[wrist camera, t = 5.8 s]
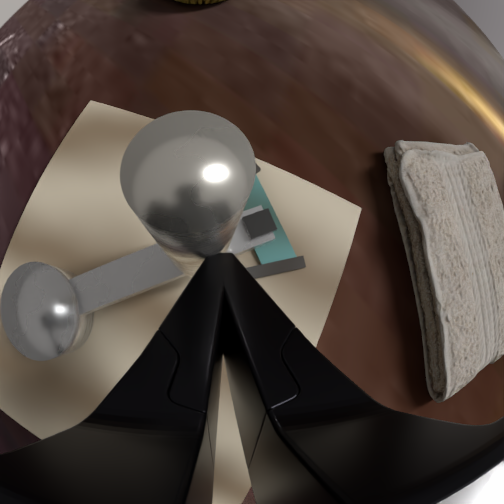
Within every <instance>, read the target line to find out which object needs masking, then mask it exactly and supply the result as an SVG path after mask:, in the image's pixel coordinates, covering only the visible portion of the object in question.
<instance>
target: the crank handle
mask: <svg viewBox="0 0 504 504" xmlns="http://www.w3.org/2000/svg"><path fill="white" fill-rule="evenodd" d="M255 176H256V162H255V157H254V152H253V150H252V147H251V145H250V143H249V141H248V140H247V138H246V137H245V135H244V134H243V133H242V132H241V131H240V130H239V129H238V128H237V127H236V126H235V125H234V124H232V123H231V122H229V121H228V120H226V119H224V118H222V117H220V116H218V115H215V114H212V113H209V112H203V111H194V110H190V111H179V112H174V113H170V114H167V115H164V116H162V117H159V118H157V119H155V120H154V121H152V122H150V123H149V124H147V125H146V126H145V127H144V128H142V129H141V130H140V131H139V132H138V133H137V134H136V135H135V136H134V138H133V139H132V140H131V142H130V143H129V145H128V147H127V149H126V150H125V153H124V155H123V158H122V162H121V167H120V183H121V188H122V192H123V195H124V197H125V199H126V201H127V203H128V205H129V206H130V208H131V209H132V210H133V212H134V213H135V214H136V216H137V217H138V218H139V220H140V221H141V223H142V224H143V225H144V227H145V228H146V229H147V231H148V232H149V233H150V235H151V236H152V237H153V238H154V240H155V241H156V242H157V244H154V245H152V246H149V247H147V248H144V249H142V250H139V251H137V252H134V253H132V254H129V255H127V256H124V257H122V258H119V259H117V260H114V261H112V262H109V263H107V264H105V265H102V266H100V267H97V268H95V269H93V270H90V271H88V272H85V273H83V274H81V275H78V276H77V275H75V274H74V273H72V272H70V271H68V270H65V269H62V268H58V267H55V266H52V265H48V264H45V263H42V262H28V263H25V264H23V265H21V266H19V267H18V268H17V269H15V270H14V271H13V272H12V274H11V275H10V276H9V278H8V279H7V281H6V283H5V286H4V288H3V292H2V296H1V305H0V309H1V319H2V323H3V327H4V330H5V332H6V335H7V337H8V338H9V340H10V342H11V343H12V345H13V346H14V347H15V348H16V349H17V350H18V351H19V352H20V353H21V354H22V355H24V356H26V357H27V358H30V359H32V360H36V361H46V360H50V359H53V358H57V357H60V356H63V355H66V354H69V353H72V352H74V351H76V350H78V349H79V348H80V347H81V346H83V345H84V343H85V342H86V341H87V339H88V337H89V335H90V333H91V331H92V327H93V322H94V312H95V311H97V310H100V309H102V308H105V307H107V306H110V305H113V304H115V303H118V302H120V301H123V300H125V299H128V298H131V297H133V296H136V295H138V294H141V293H143V292H146V291H149V290H151V289H154V288H156V287H159V286H161V285H164V284H167V283H169V282H172V281H174V280H177V279H179V278H182V277H185V276H188V277H190V278H192V277H193V275H194V274H195V272H196V271H197V270H198V268H199V267H200V265H201V264H202V262H203V261H204V259H205V258H206V257H210V256H212V255H215V254H217V253H227V252H231V253H233V254H234V255H235V256H239V255H241V254H244V253H246V252H249V251H251V250H254V249H257V248H259V247H262V246H264V245H267V244H270V243H271V242H272V241H273V240H274V239H275V236H274V234H273V232H274V231H276V230H277V227H276V224H275V222H274V220H273V217H272V215H271V213H270V211H269V208H267V209H264V210H263V208H262V206H261V205H260V206H257V207H254V208H251V209H248V210H246V211H243V210H244V208H245V205H246V203H247V200H248V198H249V196H250V193H251V190H252V188H253V185H254V181H255Z"/></svg>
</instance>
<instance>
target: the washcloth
mask: <svg viewBox="0 0 504 504" xmlns="http://www.w3.org/2000/svg"><path fill="white" fill-rule="evenodd" d="M384 157H385V163H386V164H387V167H388V168H387V170H388V173H387V179H388V184H389V186H390V187H391V195H392V197H393V204H394V209H395V213H396V216H397V219H398V224H399V227H400V231H401V235H402V239H403V243H404V246H405V250H406V255H407V260H408V264H409V268H410V273H411V278H412V282H413V288H414V293H415V298H416V304H417V309H418V315H419V321H420V326H421V331H422V341H423V348H424V361H425V373H426V382H427V388H428V391H429V394H430V396H431V397H432V398H433V399H434V400H435V401H436V402H437V403H439V402H442V401H444V400H445V399H448V398H450V397H451V396H452V395H454V394H455V393H457V392H458V391H459V390H460V389H461V388H463V387H464V386H466V384H467V383H469V382H470V381H471V380H472V379H473V378H474V377H475V376H476V374H477V373H478V372H479V371H480V370H482V369H483V368H484V367H485V366H486V365H487V364H488V363H490V364H492V363H494V362H495V361H496V360H497V359H499V358H501V356H502V355H504V210H503V204H502V201H501V198H500V195H499V192H498V190H497V189H498V188H497V185H496V181H495V179H494V174H493V172H492V169H491V168H490V164H489V161H488V159H487V157H486V156H485V154H484V153H483V151H479V150H478V149H477V148H476V147H475V146H474V145H473V144H472V143H468V142H467V144H464V145H452V144H441V143H431V142H412V141H409V142H408V141H401V140H400V141H397V142H396V143H395V147H388V148H386V149H385V150H384Z"/></svg>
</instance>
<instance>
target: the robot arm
mask: <svg viewBox="0 0 504 504" xmlns="http://www.w3.org/2000/svg"><path fill="white" fill-rule="evenodd" d="M223 356H224V361H225V366H226V372H227V377H228V382H229V387H230V392H231V397H232V401H233V406H234V411H235V416H236V420H237V425H238V429H239V434H240V438H241V443H242V447H243V451H244V456H245V460H246V464H247V468H248V473H249V477H250V481H251V485H252V489H253V493H254V497H255V501H256V504H504V416H503V417H502V418H500V419H499V420H497V421H496V422H493V423H491V424H486V425H465V424H459V423H453V422H447V421H442V420H436V419H431V418H426V417H421V416H417V415H412V414H408V413H403V412H399V411H395V410H392V409H390V408H387V407H385V406H384V405H382V404H380V403H378V402H377V401H375V400H374V399H373V398H371V397H370V396H369V395H368V394H366V393H365V392H364V391H363V390H362V389H361V388H360V387H358V386H357V385H356V384H355V383H354V382H353V381H351V380H350V379H349V378H348V377H347V376H346V375H345V374H343V373H342V372H341V371H340V370H339V369H338V368H337V367H335V366H334V365H333V364H332V363H331V362H330V361H329V360H328V359H327V358H326V357H325V356H324V355H323V354H321V353H320V352H319V351H318V350H317V349H316V348H315V346H314V345H313V344H312V343H311V342H310V341H309V340H308V339H307V338H306V337H305V336H304V335H303V333H302V332H301V331H300V330H299V329H298V328H297V327H296V326H295V324H294V323H293V322H292V321H291V320H290V319H289V318H288V316H287V315H286V314H285V313H284V312H283V311H282V310H281V308H280V307H279V306H278V305H277V304H276V303H275V301H274V300H273V299H272V298H271V297H270V296H269V295H268V293H267V292H266V291H265V290H264V289H263V288H262V286H261V285H260V284H259V283H258V282H257V281H256V279H255V278H254V277H253V276H252V275H251V274H250V272H249V271H248V270H247V269H246V268H245V267H244V265H243V264H242V263H241V262H240V261H239V260H238V258H237V257H236V256H235V255H234V254H233V253H231V252H227V253H217V254H215V255H212V256H210V257H206V258H205V259H204V261H203V262H202V264H201V265H200V267H199V268H198V270H197V271H196V272H195V274H194V275H193V277H192V278H191V280H190V281H189V283H188V284H187V286H186V287H185V289H184V290H183V292H182V293H181V295H180V296H179V298H178V299H177V301H176V302H175V304H174V305H173V307H172V308H171V310H170V311H169V313H168V314H167V316H166V317H165V319H164V320H163V322H162V323H161V325H160V326H159V328H158V330H157V331H156V332H155V334H154V335H153V337H152V338H151V340H150V342H149V343H148V344H147V346H146V347H145V349H144V350H143V352H142V353H141V354H140V356H139V357H138V358H137V360H136V361H135V362H134V363H133V365H132V366H131V367H130V368H129V370H128V371H127V372H126V373H125V374H124V376H123V377H122V378H121V379H120V380H119V381H118V383H117V384H116V385H115V386H114V387H113V388H112V390H111V391H110V392H109V393H108V394H107V396H106V397H105V398H104V399H103V400H102V402H101V403H100V404H99V405H98V406H97V407H96V409H95V410H94V411H93V412H92V413H91V414H90V415H89V416H88V417H87V418H85V419H84V420H83V421H81V422H80V423H78V424H77V425H75V426H73V427H71V428H69V429H66V430H64V431H62V432H59V433H57V434H55V435H52V436H50V437H47V438H45V439H42V440H40V441H37V442H35V443H32V444H29V445H27V446H24V447H22V448H19V449H16V450H13V451H11V452H7V453H3V454H0V504H212V499H213V483H214V467H215V452H216V438H217V424H218V411H219V398H220V386H221V373H222V362H223Z"/></svg>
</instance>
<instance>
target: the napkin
mask: <svg viewBox="0 0 504 504" xmlns="http://www.w3.org/2000/svg"><path fill="white" fill-rule="evenodd" d="M152 121H154V119H151V118H148V117H145V116H142V115H138V114H135V113H132V112H129V111H126V110H122V109H119V108H116V107H112V106H109V105H105V104H102V103H98V102H95V101H90V102H89V104H88V105H87V106H86V108H85V109H84V110H83V112H82V113H81V115H80V116H79V117H78V119H77V120H76V122H75V123H74V125H73V126H72V127H71V129H70V130H69V132H68V133H67V135H66V136H65V138H64V140H63V141H62V143H61V144H60V146H59V147H58V149H57V151H56V152H55V154H54V156H53V157H52V159H51V161H50V162H49V164H48V166H47V168H46V169H45V171H44V173H43V175H42V177H41V178H40V180H39V182H38V184H37V186H36V188H35V190H34V192H33V194H32V195H31V197H30V199H29V202H28V204H27V206H26V208H25V210H24V212H23V214H22V216H21V218H20V221H19V223H18V225H17V228H16V230H15V232H14V235H13V237H12V239H11V242H10V244H9V247H8V250H7V252H6V255H5V257H4V260H3V263H2V266H1V269H0V305H1V296H2V292H3V288H4V286H5V283H6V281H7V279H8V278H9V276H10V275H11V274H12V272H13V271H14V270H15V269H17V268H18V267H19V266H21V265H23V264H25V263H28V262H42V263H45V264H48V265H52V266H55V267H58V268H62V269H65V270H68V271H70V272H72V273H74V274H75V275H77V276H78V275H81V274H83V273H85V272H88V271H90V270H93V269H95V268H97V267H100V266H102V265H105V264H107V263H109V262H112V261H114V260H117V259H119V258H122V257H124V256H127V255H129V254H132V253H134V252H137V251H139V250H142V249H144V248H147V247H149V246H152V245H154V244H157V242H156V241H155V240H154V238H153V237H152V236H151V235H150V233H149V232H148V231H147V229H146V228H145V227H144V225H143V224H142V223H141V221H140V220H139V218H138V217H137V216H136V214H135V213H134V212H133V210H132V209H131V208H130V206H129V205H128V203H127V201H126V199H125V197H124V195H123V192H122V188H121V183H120V167H121V162H122V158H123V155H124V153H125V150H126V149H127V147H128V145H129V143H130V142H131V140H132V139H133V138H134V136H135V135H136V134H137V133H138V132H139V131H140V130H141V129H142V128H144V127H145V126H146V125H147V124H149V123H150V122H152ZM255 162H256V176H255V181H254V185H253V188H252V190H251V193H250V196H249V198H248V200H247V203H246V205H245V208H244V210H243V211H246V210H248V209H251V208H254V207H257V206H260V205H261V206H262V208H263V210H264V209H267V208H269V211H270V213H271V215H272V217H273V220H274V222H275V224H276V227H277V230H276V231H274V232H273V234H274V236H275V239H274V240H273V241H272V242H271V243H270V244H267V245H264V246H262V247H259V248H257V249H254V250H251V251H249V252H246V253H244V254H241V255H239V256H236V257H237V258H238V260H239V261H240V262H241V263H242V264H243V265H244V267H245V268H246V269H247V270H248V271H249V272H250V274H251V275H252V276H253V277H254V278H255V279H256V281H257V282H258V283H259V284H260V285H261V286H262V288H263V289H264V290H265V291H266V292H267V293H268V295H269V296H270V297H271V298H272V299H273V300H274V301H275V303H276V304H277V305H278V306H279V307H280V308H281V310H282V311H283V312H284V313H285V314H286V315H287V316H288V318H289V319H290V320H291V321H292V322H293V323H294V324H295V326H296V327H297V328H298V329H299V330H300V331H301V332H302V333H303V335H304V336H305V337H306V338H307V339H308V340H309V341H310V342H311V343H312V344H313V345H314V346H315V348H316V345H317V343H318V340H319V337H320V335H321V332H322V329H323V327H324V324H325V321H326V319H327V316H328V313H329V310H330V308H331V305H332V302H333V299H334V296H335V293H336V290H337V287H338V284H339V281H340V278H341V275H342V272H343V269H344V266H345V263H346V260H347V257H348V253H349V250H350V247H351V243H352V240H353V237H354V233H355V230H356V226H357V223H358V219H359V216H360V212H361V208H360V207H358V206H356V205H354V204H352V203H350V202H348V201H346V200H344V199H342V198H340V197H338V196H336V195H334V194H332V193H330V192H328V191H326V190H324V189H322V188H320V187H318V186H316V185H314V184H312V183H310V182H308V181H306V180H303V179H301V178H299V177H297V176H295V175H293V174H290V173H288V172H286V171H284V170H282V169H279V168H277V167H275V166H273V165H270V164H268V163H266V162H263V161H261V160H259V159H256V158H255ZM190 280H191V278H190V277H188V276H185V277H182V278H179V279H177V280H174V281H172V282H169V283H167V284H164V285H161V286H159V287H156V288H154V289H151V290H149V291H146V292H143V293H141V294H138V295H136V296H133V297H131V298H128V299H125V300H123V301H120V302H118V303H115V304H113V305H110V306H107V307H105V308H102V309H100V310H97V311H95V312H94V322H93V327H92V331H91V333H90V335H89V337H88V339H87V341H86V342H85V343H84V345H83V346H81V347H80V348H79V349H78V350H76V351H74V352H72V353H69V354H66V355H63V356H60V357H57V358H53V359H50V360H46V361H36V360H32V359H30V358H27V357H26V356H24V355H22V354H21V353H20V352H19V351H18V350H17V349H16V348H15V347H14V346H13V345H12V343H11V342H10V340H9V338H8V337H7V335H6V332H5V330H4V327H3V323H2V319H1V309H0V409H1V410H2V411H4V412H5V413H6V414H7V415H9V416H10V417H11V418H12V419H14V420H15V421H16V422H18V423H19V424H20V425H22V426H23V427H24V428H26V429H27V430H29V431H30V432H31V433H33V434H34V435H36V436H37V437H39V438H40V439H45V438H47V437H50V436H52V435H55V434H57V433H59V432H62V431H64V430H66V429H69V428H71V427H73V426H75V425H77V424H78V423H80V422H81V421H83V420H84V419H85V418H87V417H88V416H89V415H90V414H91V413H92V412H93V411H94V410H95V409H96V407H97V406H98V405H99V404H100V403H101V402H102V400H103V399H104V398H105V397H106V396H107V394H108V393H109V392H110V391H111V390H112V388H113V387H114V386H115V385H116V384H117V383H118V381H119V380H120V379H121V378H122V377H123V376H124V374H125V373H126V372H127V371H128V370H129V368H130V367H131V366H132V365H133V363H134V362H135V361H136V360H137V358H138V357H139V356H140V354H141V353H142V352H143V350H144V349H145V347H146V346H147V344H148V343H149V342H150V340H151V338H152V337H153V335H154V334H155V332H156V331H157V330H158V328H159V326H160V325H161V323H162V322H163V320H164V319H165V317H166V316H167V314H168V313H169V311H170V310H171V308H172V307H173V305H174V304H175V302H176V301H177V299H178V298H179V296H180V295H181V293H182V292H183V290H184V289H185V287H186V286H187V284H188V283H189V281H190ZM251 486H252V485H251V481H250V477H249V473H248V468H247V464H246V460H245V456H244V451H243V447H242V443H241V438H240V434H239V429H238V425H237V420H236V416H235V411H234V406H233V401H232V397H231V392H230V387H229V382H228V377H227V372H226V366H225V361H224V356H223V362H222V373H221V386H220V398H219V411H218V424H217V438H216V452H215V467H214V483H213V499H212V504H241V503H242V502H243V500H244V498H245V496H246V495H247V493H248V491H249V489H250V487H251Z"/></svg>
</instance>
